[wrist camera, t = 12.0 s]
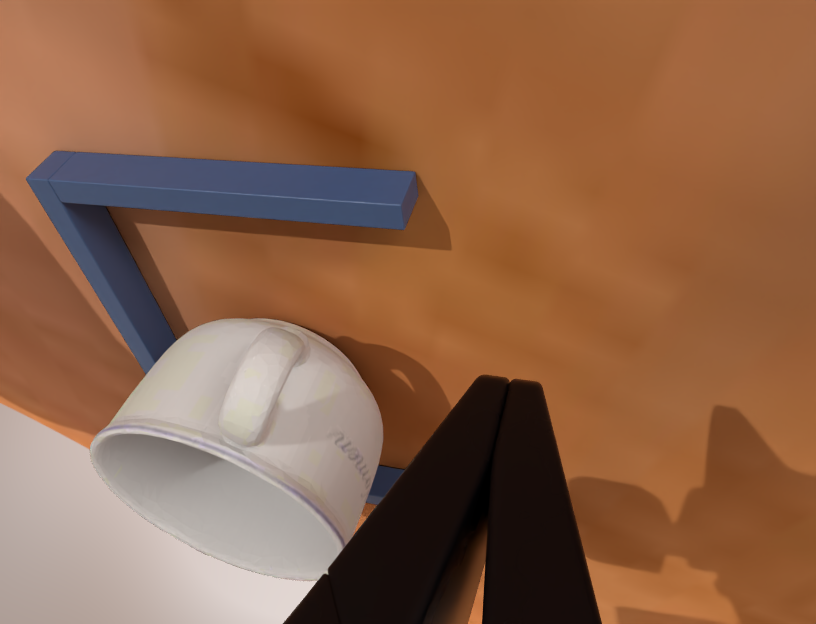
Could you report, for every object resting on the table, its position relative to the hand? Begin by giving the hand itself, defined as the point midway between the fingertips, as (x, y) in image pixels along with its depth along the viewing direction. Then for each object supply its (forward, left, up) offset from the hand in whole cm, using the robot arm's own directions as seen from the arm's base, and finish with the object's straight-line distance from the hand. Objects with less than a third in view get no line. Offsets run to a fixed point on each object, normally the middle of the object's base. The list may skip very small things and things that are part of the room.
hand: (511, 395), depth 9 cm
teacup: (+11, +15, -12) cm, 22 cm away
